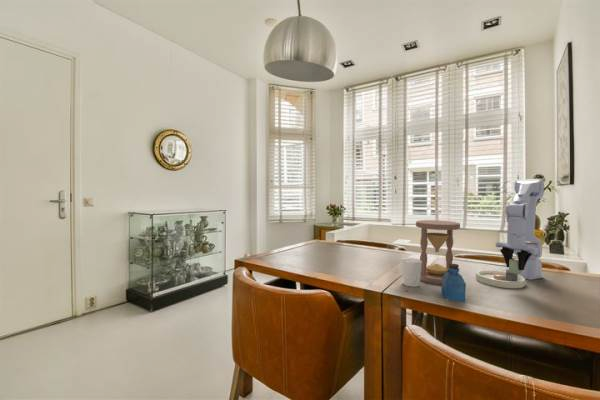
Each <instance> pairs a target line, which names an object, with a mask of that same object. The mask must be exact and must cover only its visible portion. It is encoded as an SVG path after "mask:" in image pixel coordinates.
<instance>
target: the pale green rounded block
mask: <svg viewBox="0 0 600 400" xmlns="http://www.w3.org/2000/svg"><path fill="white" fill-rule="evenodd" d="M518 266H519V260H518V259H517V258H512V259H509V267H508V269H509V272H510V273H514V274H521V270H519V267H518Z"/></svg>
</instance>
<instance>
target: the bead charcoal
mask: <svg viewBox="0 0 600 400" xmlns="http://www.w3.org/2000/svg"><path fill="white" fill-rule="evenodd" d="M505 272H506V281H518V274H514V273H510V272H509V268H507V269H505Z"/></svg>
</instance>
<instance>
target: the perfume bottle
mask: <svg viewBox="0 0 600 400" xmlns="http://www.w3.org/2000/svg"><path fill="white" fill-rule="evenodd" d="M459 267H460V266H459V264H456V263H452V264H449V267H448V270H449V272H446V273H445V274H444V275H443V277H442V285H441V295H442V296H443V297H444V299H445V300H446V299H449V300H448V301H459V300H460V302H461V301H463V302H466V292H467V291H466V284H467V283H466V282H465V280H464V278H463V275H461V274H460V273H459V272H460V268H459Z"/></svg>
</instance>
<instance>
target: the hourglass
mask: <svg viewBox="0 0 600 400" xmlns="http://www.w3.org/2000/svg"><path fill="white" fill-rule="evenodd" d="M415 226H416V227H417V228H420V229H421V233H420V234H421V235H420V243H419V244H420V248H421V253H420V256H419V260H421V261H422V265H421V278H420V282H424V283H430V284H434V285H441V286H442V277H443V275H444V274H445V273H446V272H449V270H448V267H449V264H453V259H454V254H453V251H452V249H453V246H454V236H453V235H454V233H453V232H454V231H455V230H460V228H461V223H460V222H456V221H451V220H450V221H449V220H439V219H437V220H436V219H425V220H424V219H423V220H417V221H416V222H415ZM428 230H437V231H446V233H443V232H428ZM428 242H430V244H431V246H433V249H434V252H435V253H439V252H440V249H441V247H443V245H444V244H445V245H446V249H447V250H446V253H445V263H446V265H445V266H443V265H440V264H438V263H433V264H430V265H427V264H428V255H427V248H428V246H429V244H428Z"/></svg>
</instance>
